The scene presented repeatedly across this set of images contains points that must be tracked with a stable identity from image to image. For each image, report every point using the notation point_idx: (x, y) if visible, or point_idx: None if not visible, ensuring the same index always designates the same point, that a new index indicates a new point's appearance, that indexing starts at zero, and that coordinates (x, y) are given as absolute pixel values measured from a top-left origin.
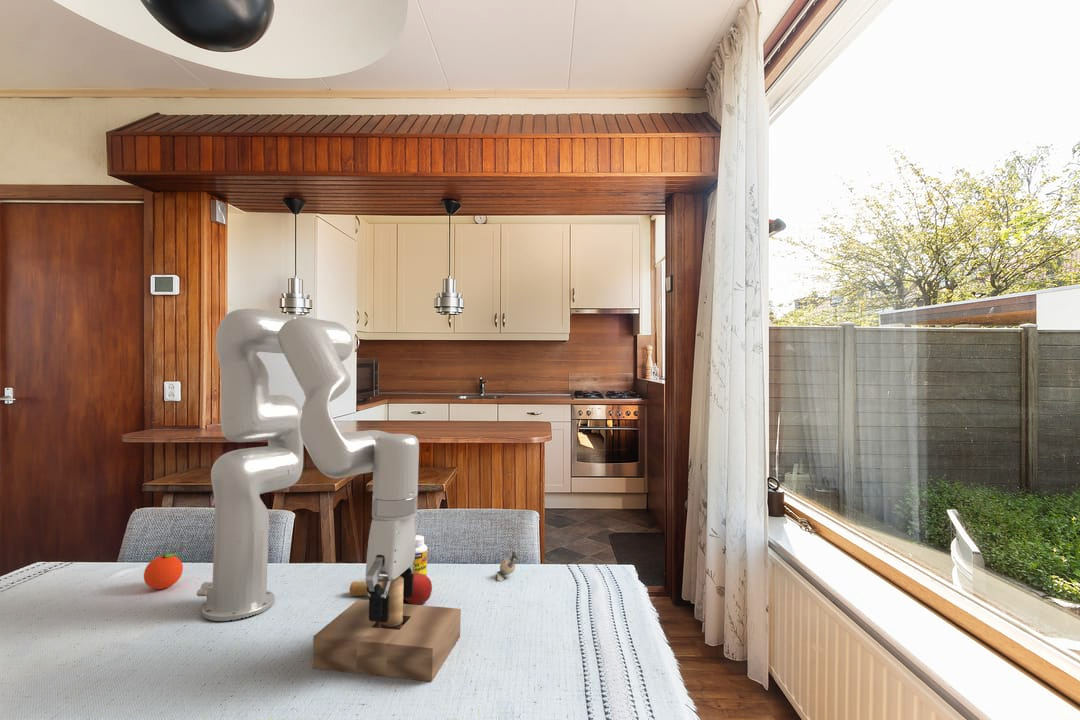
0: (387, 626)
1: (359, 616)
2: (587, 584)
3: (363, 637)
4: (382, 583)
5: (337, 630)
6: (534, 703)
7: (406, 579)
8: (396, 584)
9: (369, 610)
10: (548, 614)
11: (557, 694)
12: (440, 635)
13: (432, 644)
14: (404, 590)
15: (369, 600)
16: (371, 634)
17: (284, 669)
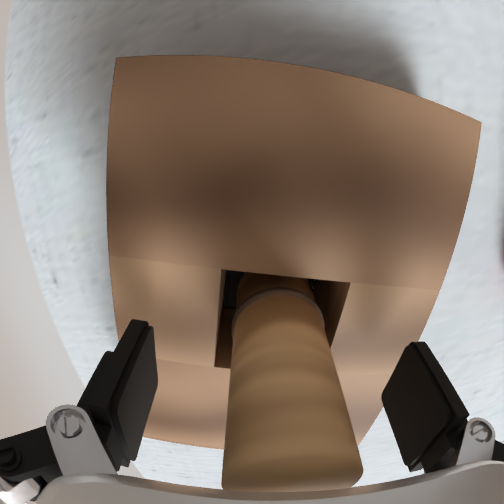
0: (232, 328)
1: (325, 179)
2: None
3: (133, 270)
4: (247, 456)
5: (173, 131)
6: (150, 469)
7: (412, 440)
8: None
9: (117, 347)
10: (395, 466)
11: (176, 483)
12: (202, 445)
13: (154, 435)
14: (400, 394)
15: (99, 382)
16: (161, 291)
17: (149, 6)
